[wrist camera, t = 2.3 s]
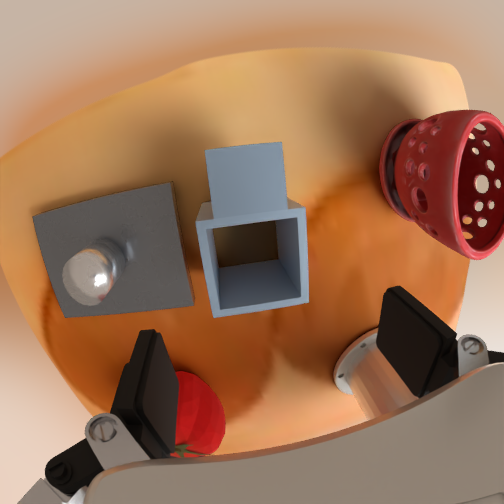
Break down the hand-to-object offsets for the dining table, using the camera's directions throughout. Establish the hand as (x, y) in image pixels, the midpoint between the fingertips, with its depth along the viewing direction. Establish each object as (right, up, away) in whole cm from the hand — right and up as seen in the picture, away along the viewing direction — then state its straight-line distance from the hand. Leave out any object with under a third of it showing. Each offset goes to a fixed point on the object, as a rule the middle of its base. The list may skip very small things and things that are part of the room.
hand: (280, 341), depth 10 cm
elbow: (-2, +7, +15) cm, 17 cm away
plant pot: (+17, +13, +16) cm, 27 cm away
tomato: (-10, -15, +22) cm, 28 cm away
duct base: (-16, +3, +15) cm, 22 cm away
